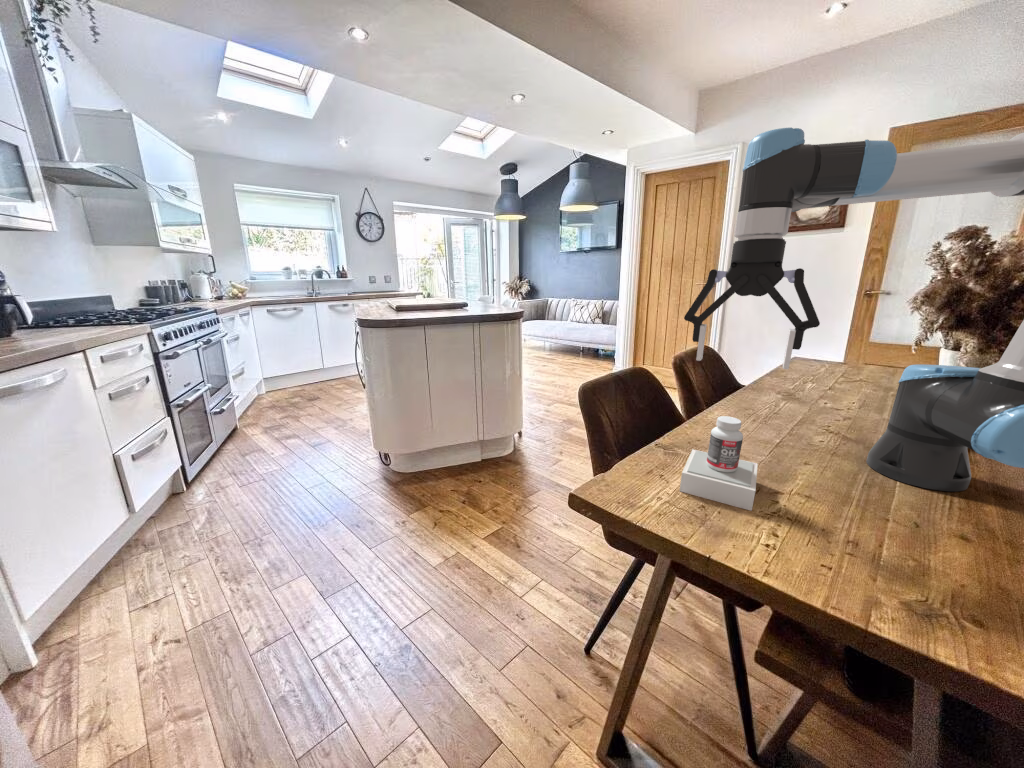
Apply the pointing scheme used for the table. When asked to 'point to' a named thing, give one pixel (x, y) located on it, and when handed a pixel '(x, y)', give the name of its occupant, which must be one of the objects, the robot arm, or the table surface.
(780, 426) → the table surface
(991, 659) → the table surface
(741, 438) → the pill bottle
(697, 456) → the plinth
